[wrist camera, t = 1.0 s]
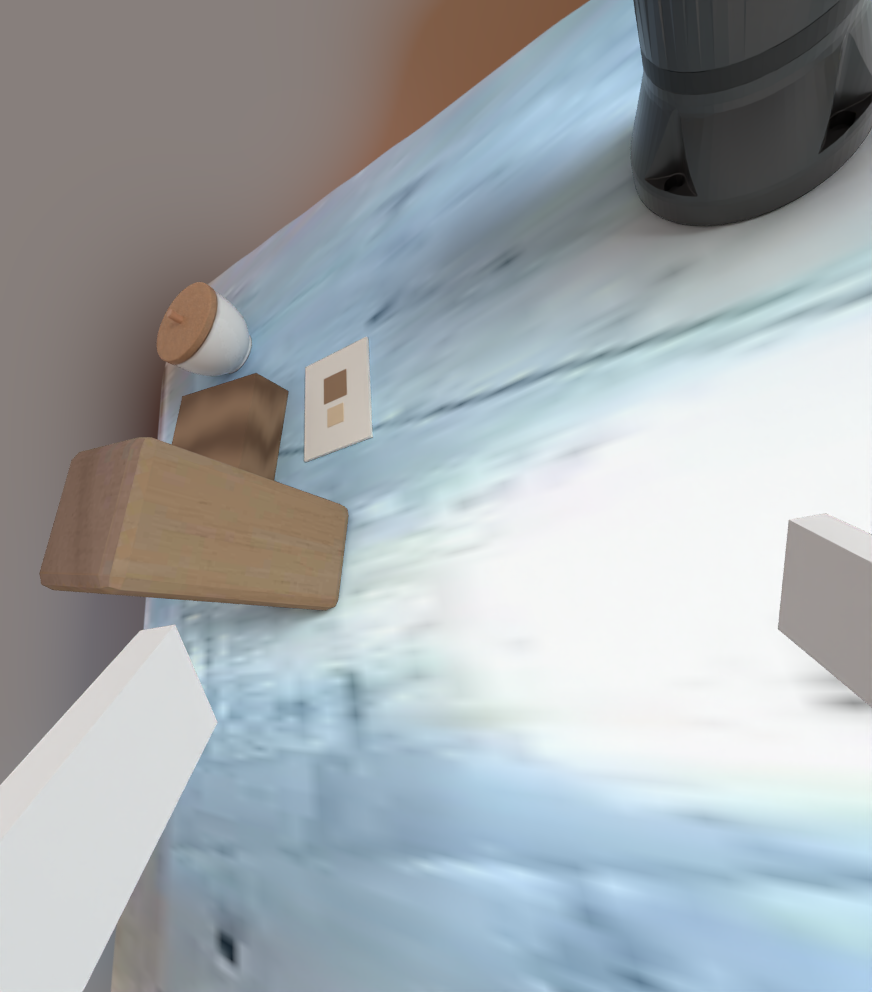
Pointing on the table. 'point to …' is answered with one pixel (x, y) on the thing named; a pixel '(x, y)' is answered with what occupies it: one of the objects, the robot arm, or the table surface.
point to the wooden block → (191, 531)
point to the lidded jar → (203, 333)
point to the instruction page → (338, 401)
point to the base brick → (235, 423)
